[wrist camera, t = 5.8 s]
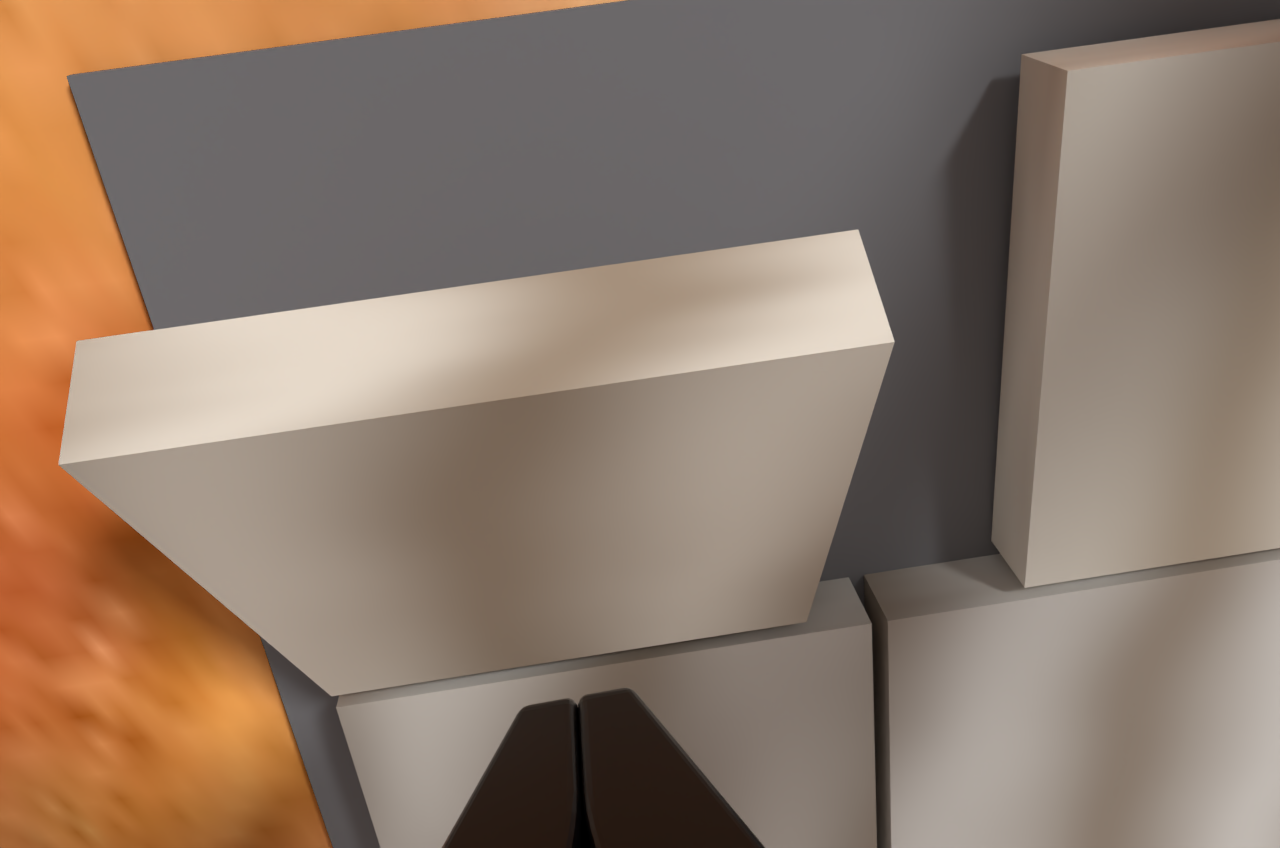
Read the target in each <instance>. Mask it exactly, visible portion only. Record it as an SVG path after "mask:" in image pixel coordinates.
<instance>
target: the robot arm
mask: <svg viewBox="0 0 1280 848" xmlns="http://www.w3.org/2000/svg"><path fill="white" fill-rule="evenodd" d="M442 848H765V847H764V845H763V844H762V843H761V842H760V841H759V839H758V838H757V837H756V836H755V835H754V833H753V832H752V831H751V830H750V829H749V827H748V826H747V825H746V824H745V823H744V821H743V820H742V819H741V818H740V817H739V815H738V814H737V813H736V812H735V811H734V809H733V808H732V807H731V806H730V805H729V803H728V802H727V801H726V800H725V799H724V797H723V796H722V795H721V794H720V793H719V791H718V790H717V789H716V788H715V787H714V785H713V784H712V783H711V782H710V781H709V779H708V778H707V777H706V776H705V775H704V773H703V772H702V771H701V770H700V769H699V767H698V766H697V765H696V764H695V763H694V761H693V760H692V759H691V758H690V757H689V755H688V754H687V753H686V752H685V751H684V749H683V748H682V747H681V746H680V744H679V743H678V742H677V741H676V740H675V738H674V737H673V736H672V735H671V734H670V732H669V731H668V730H667V729H666V728H665V726H664V725H663V724H662V723H661V722H660V720H659V719H658V718H657V717H656V716H655V714H654V713H653V712H652V711H651V710H650V708H649V707H648V706H647V705H646V704H645V702H644V701H643V700H642V699H641V698H640V696H639V695H638V694H637V693H636V692H635V691H634V690H632V689H630V688H619V689H613V690H608V691H602V692H597V693H592V694H587V695H584V696H583V697H582V698H581V699H580V701H579V703H578V706H577V703H576V702H575V701H574V700H572V699H570V698H564V699H559V700H553V701H548V702H543V703H537V704H532V705H528V706H525V707H523V708H522V709H521V710H520V711H519V712H518V714H517V715H516V717H515V719H514V720H513V722H512V724H511V726H510V728H509V729H508V731H507V733H506V735H505V736H504V738H503V740H502V742H501V744H500V745H499V747H498V749H497V751H496V752H495V754H494V756H493V758H492V759H491V761H490V763H489V765H488V767H487V768H486V770H485V772H484V774H483V775H482V777H481V779H480V781H479V783H478V784H477V786H476V788H475V790H474V791H473V793H472V795H471V797H470V798H469V800H468V802H467V804H466V806H465V807H464V809H463V811H462V813H461V814H460V816H459V818H458V820H457V822H456V823H455V825H454V827H453V829H452V830H451V832H450V834H449V836H448V837H447V839H446V841H445V843H444V845H443V846H442Z"/></svg>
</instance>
